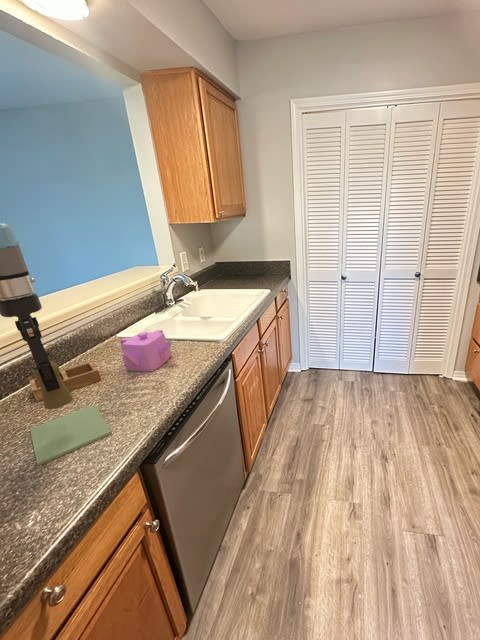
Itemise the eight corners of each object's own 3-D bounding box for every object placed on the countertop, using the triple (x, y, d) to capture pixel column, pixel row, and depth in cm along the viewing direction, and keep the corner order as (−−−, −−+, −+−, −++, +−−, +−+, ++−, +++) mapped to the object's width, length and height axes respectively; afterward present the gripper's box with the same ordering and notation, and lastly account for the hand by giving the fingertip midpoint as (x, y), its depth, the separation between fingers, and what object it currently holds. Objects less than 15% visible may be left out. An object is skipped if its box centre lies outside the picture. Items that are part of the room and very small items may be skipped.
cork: (55, 410, 80) (39, 372, 76) (39, 407, 82) (22, 369, 78) (78, 397, 85) (64, 360, 81) (62, 394, 87) (47, 358, 83)
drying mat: (30, 430, 89) (29, 428, 88) (96, 406, 98) (95, 403, 98) (37, 466, 76) (36, 463, 76) (111, 433, 86) (111, 431, 86)
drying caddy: (33, 390, 109) (29, 380, 108) (94, 370, 120) (91, 361, 119) (36, 401, 102) (32, 391, 101) (101, 380, 113) (98, 370, 112)
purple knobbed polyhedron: (167, 349, 135) (160, 321, 130) (178, 364, 122) (171, 334, 117) (122, 361, 126) (113, 332, 121) (128, 379, 113) (119, 347, 108)
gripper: (41, 299, 68) (75, 392, 77) (32, 286, 81) (63, 368, 90) (-6, 308, 64) (37, 406, 73) (-7, 293, 77) (30, 378, 86)
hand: (51, 384), depth 82 cm, fingers closed on cork, 5 cm apart
